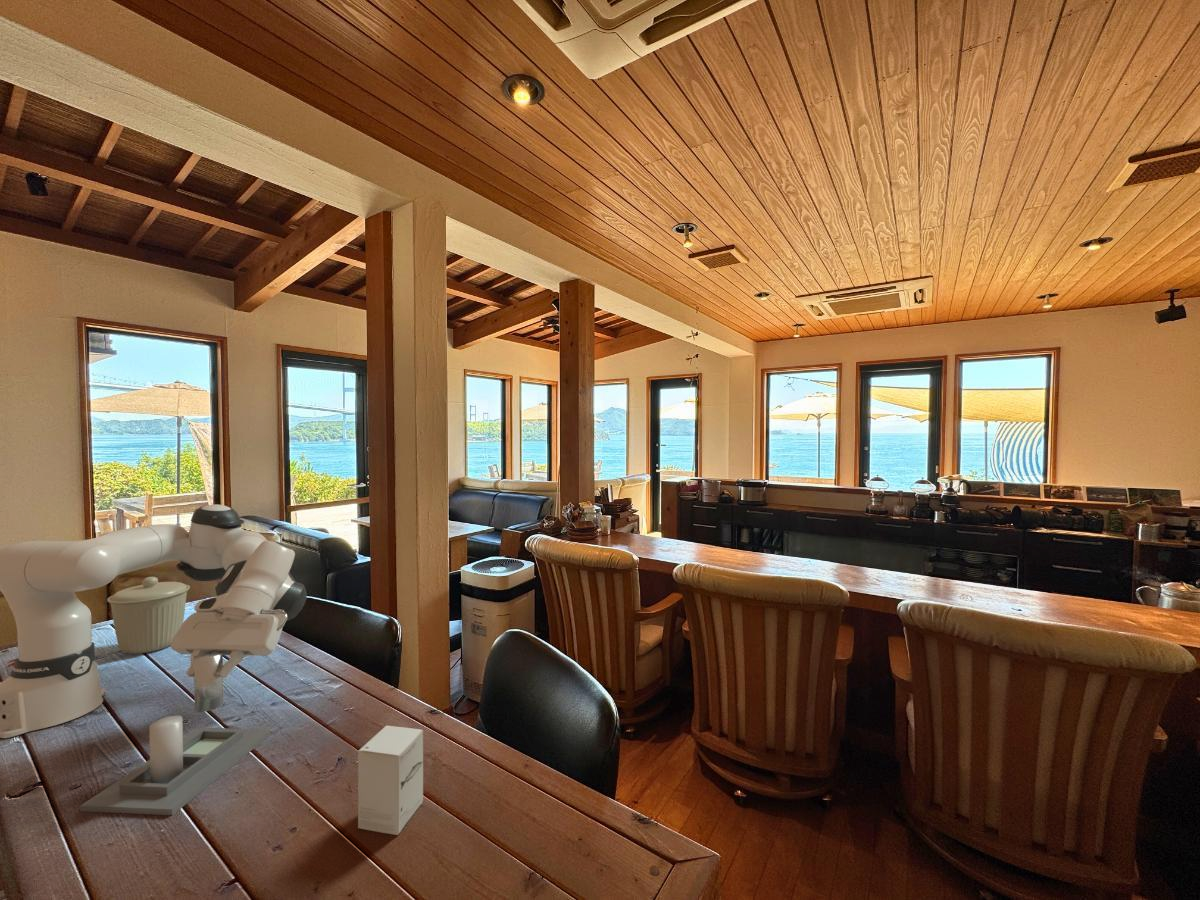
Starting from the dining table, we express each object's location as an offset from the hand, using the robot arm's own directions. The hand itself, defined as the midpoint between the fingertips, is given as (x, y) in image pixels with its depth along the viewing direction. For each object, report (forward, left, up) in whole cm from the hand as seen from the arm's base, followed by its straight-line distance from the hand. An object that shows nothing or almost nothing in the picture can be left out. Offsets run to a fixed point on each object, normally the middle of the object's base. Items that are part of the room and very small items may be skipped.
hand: (205, 676), depth 95 cm
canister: (-60, +47, -16) cm, 78 cm away
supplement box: (+44, -13, -16) cm, 48 cm away
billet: (0, +1, -6) cm, 6 cm away
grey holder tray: (0, -4, -16) cm, 16 cm away
